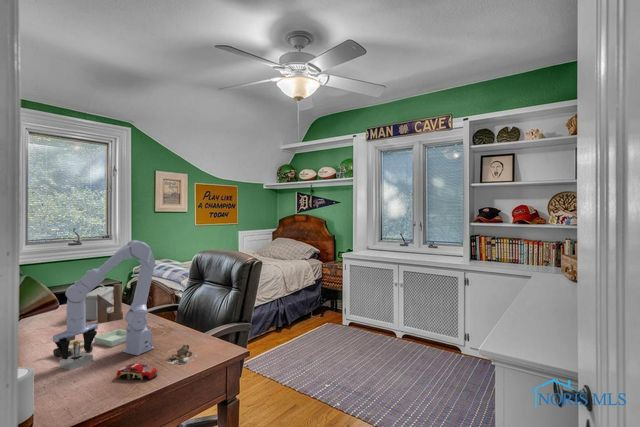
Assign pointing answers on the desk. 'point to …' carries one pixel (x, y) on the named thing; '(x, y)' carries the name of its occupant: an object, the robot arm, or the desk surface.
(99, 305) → the wooden block
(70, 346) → the ramp trolley
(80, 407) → the desk surface
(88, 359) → the plate
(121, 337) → the tray
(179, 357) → the frog figurine
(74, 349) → the pin
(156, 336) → the desk surface
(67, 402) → the desk surface
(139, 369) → the race car
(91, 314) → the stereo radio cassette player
